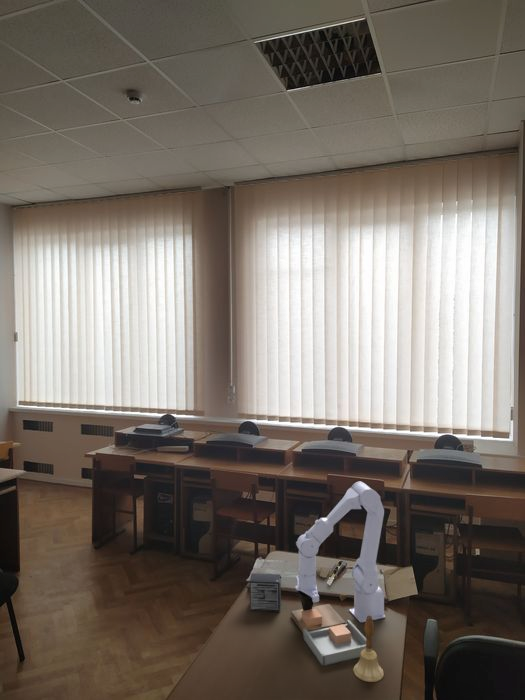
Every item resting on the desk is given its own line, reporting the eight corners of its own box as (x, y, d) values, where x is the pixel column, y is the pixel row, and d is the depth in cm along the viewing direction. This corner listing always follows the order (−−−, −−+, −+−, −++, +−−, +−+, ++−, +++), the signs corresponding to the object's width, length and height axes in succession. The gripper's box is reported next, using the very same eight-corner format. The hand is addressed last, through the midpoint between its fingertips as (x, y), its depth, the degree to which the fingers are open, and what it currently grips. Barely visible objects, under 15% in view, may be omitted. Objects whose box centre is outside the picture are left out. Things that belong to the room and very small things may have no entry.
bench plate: (329, 609, 175) (329, 603, 175) (345, 628, 163) (345, 622, 163) (291, 616, 170) (291, 611, 170) (305, 637, 159) (305, 630, 159)
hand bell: (383, 664, 145) (383, 609, 145) (384, 684, 137) (384, 626, 137) (353, 661, 147) (353, 606, 147) (353, 680, 139) (352, 622, 138)
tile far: (315, 615, 167) (315, 608, 167) (322, 624, 162) (322, 616, 162) (301, 618, 166) (301, 611, 166) (307, 626, 161) (307, 619, 161)
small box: (281, 602, 180) (281, 573, 179) (280, 612, 173) (280, 582, 173) (251, 601, 181) (251, 572, 180) (249, 611, 174) (249, 581, 174)
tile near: (343, 631, 161) (343, 624, 161) (350, 640, 156) (350, 632, 156) (329, 635, 159) (329, 627, 159) (336, 644, 154) (336, 636, 154)
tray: (349, 628, 163) (349, 619, 163) (372, 654, 150) (371, 644, 150) (303, 638, 158) (303, 629, 158) (322, 666, 145) (322, 655, 145)
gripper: (287, 564, 173) (288, 604, 173) (304, 584, 159) (304, 627, 159) (306, 561, 175) (307, 600, 175) (325, 580, 161) (325, 623, 162)
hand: (307, 613), depth 167 cm, fingers closed
